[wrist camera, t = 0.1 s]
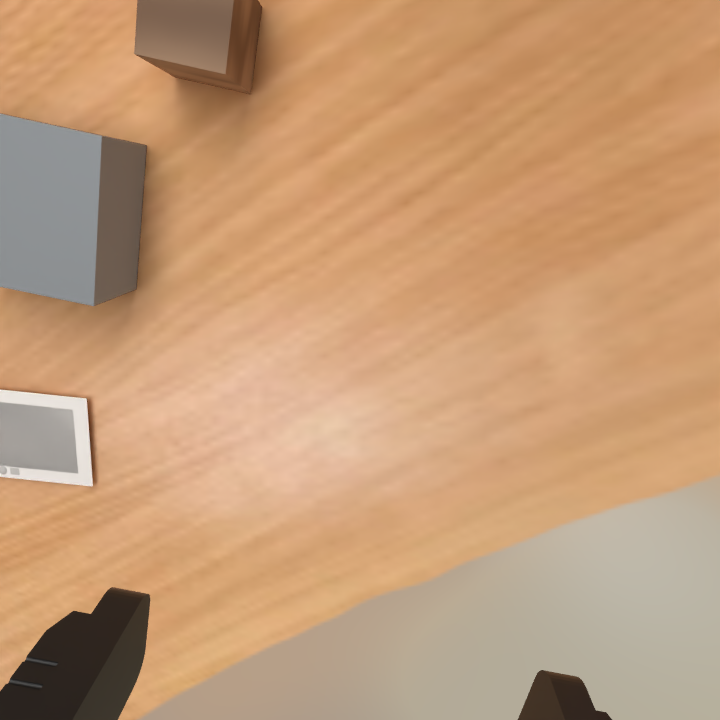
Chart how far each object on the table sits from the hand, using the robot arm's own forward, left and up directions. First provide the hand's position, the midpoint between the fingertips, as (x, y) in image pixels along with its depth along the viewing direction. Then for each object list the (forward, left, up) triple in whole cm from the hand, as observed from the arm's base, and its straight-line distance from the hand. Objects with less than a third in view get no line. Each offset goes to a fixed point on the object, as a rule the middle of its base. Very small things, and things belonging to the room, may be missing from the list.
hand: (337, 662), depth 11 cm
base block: (-4, -22, -29) cm, 37 cm away
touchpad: (+15, -27, -30) cm, 43 cm away
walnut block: (-16, -13, -29) cm, 36 cm away
